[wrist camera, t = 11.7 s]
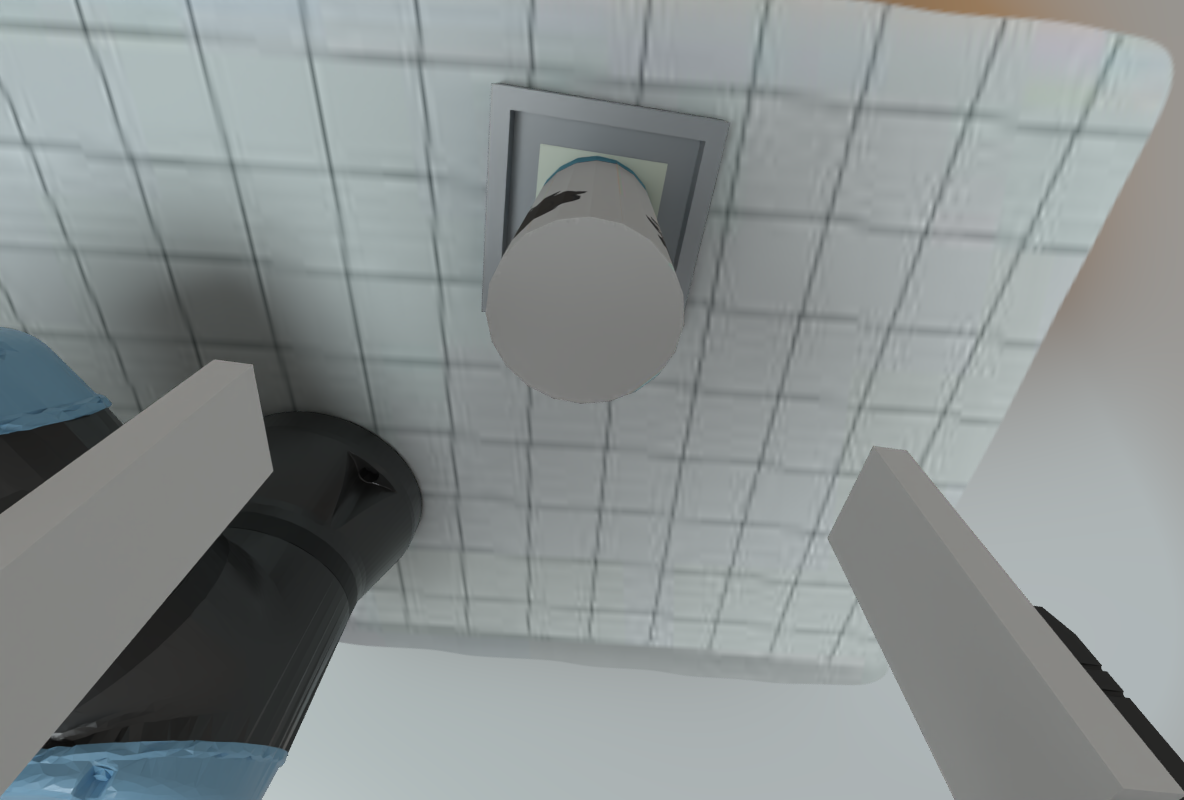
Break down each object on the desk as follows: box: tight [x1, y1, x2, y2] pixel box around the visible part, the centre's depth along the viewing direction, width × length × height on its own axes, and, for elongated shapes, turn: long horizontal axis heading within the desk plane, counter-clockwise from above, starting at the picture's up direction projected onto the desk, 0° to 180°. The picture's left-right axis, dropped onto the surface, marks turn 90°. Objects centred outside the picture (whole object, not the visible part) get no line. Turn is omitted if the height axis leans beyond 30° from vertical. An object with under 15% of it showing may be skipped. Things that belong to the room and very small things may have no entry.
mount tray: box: [482, 83, 730, 312], centre depth 31 cm, size 12×12×2 cm
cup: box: [486, 156, 684, 404], centre depth 25 cm, size 7×7×15 cm
